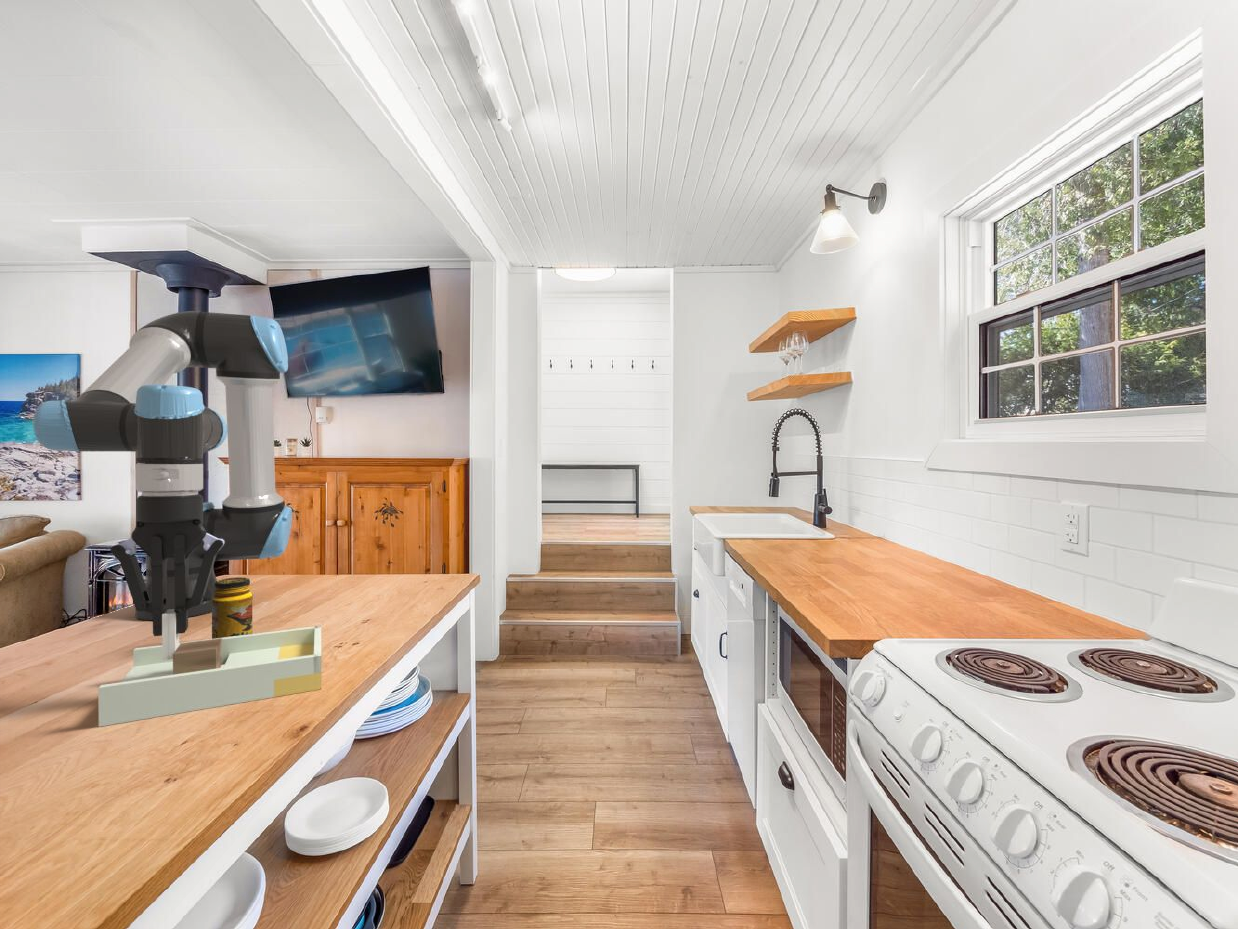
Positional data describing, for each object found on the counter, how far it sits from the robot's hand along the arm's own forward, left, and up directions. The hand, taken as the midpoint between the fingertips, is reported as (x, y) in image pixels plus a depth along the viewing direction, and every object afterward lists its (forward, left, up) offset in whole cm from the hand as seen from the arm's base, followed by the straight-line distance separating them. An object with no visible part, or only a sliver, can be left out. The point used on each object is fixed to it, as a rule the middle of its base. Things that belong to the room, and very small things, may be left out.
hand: (170, 656), depth 80 cm
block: (0, +3, -3) cm, 4 cm away
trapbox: (0, +7, -6) cm, 9 cm away
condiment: (-20, +4, -6) cm, 21 cm away
